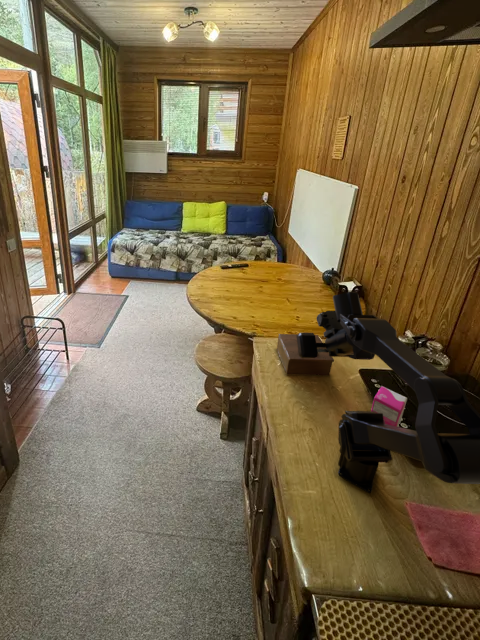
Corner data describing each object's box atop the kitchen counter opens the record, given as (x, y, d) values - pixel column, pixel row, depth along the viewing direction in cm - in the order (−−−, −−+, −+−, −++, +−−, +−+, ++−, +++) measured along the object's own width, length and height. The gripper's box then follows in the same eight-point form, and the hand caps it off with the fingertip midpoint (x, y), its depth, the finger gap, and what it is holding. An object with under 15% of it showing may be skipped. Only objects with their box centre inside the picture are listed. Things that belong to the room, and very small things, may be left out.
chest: (329, 375, 97) (332, 360, 95) (286, 374, 97) (288, 359, 95) (314, 350, 109) (317, 336, 107) (276, 349, 109) (278, 335, 107)
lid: (333, 362, 94) (336, 350, 93) (289, 361, 94) (291, 349, 93) (317, 336, 107) (319, 325, 105) (278, 335, 107) (279, 324, 105)
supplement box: (372, 419, 81) (382, 384, 78) (397, 434, 77) (409, 398, 74) (364, 432, 78) (374, 396, 74) (390, 448, 74) (402, 411, 70)
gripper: (379, 308, 76) (349, 323, 90) (304, 306, 76) (286, 321, 90) (390, 355, 72) (357, 363, 86) (310, 353, 71) (290, 361, 86)
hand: (322, 350), depth 87 cm, fingers open, 9 cm apart
